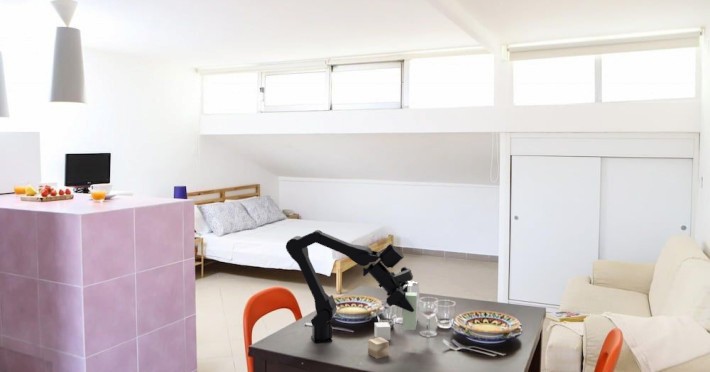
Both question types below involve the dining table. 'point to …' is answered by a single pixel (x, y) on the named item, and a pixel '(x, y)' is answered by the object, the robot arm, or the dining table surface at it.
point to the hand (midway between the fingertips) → (413, 309)
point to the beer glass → (413, 289)
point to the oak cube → (378, 347)
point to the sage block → (408, 316)
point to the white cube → (382, 330)
